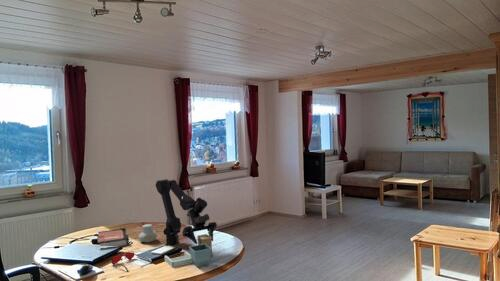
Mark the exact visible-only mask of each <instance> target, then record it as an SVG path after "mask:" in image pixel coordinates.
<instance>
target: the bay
mask: <svg viewBox="0 0 500 281" xmlns="http://www.w3.org/2000/svg"><path fill="white" fill-rule="evenodd" d="M183 253H184V255H182V256H177V257H171V258H170V257H169V256H168V255H164V262H166V264H168V265H169V266H170V267H171V268H176V267H179V266H184V265H188V264H192V263H193V264H194V262H193V261H192V258H191V255H190V252H188V251H184V252H183Z"/></svg>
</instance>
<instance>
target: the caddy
mask: <svg viewBox="0 0 500 281" xmlns="http://www.w3.org/2000/svg"><path fill="white" fill-rule="evenodd" d="M196 237H197V245H201V244H206V245H207V246H209V247H210V248H211V257H210V259H212V258H213V246H212V242H213V241H212V240H211V238H212V237H211V236H209V234H207V233H205V234H199V235H196Z"/></svg>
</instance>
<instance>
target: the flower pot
mask: <svg viewBox="0 0 500 281" xmlns="http://www.w3.org/2000/svg"><path fill="white" fill-rule="evenodd" d="M188 248H189V254H190V255H191V258H192V261H193V262H194V263H193V264H194V265H195V266H196V268H200V267H205V266H208V264H209V263H210V262H211V258H210V257H211V248H210V247H209V246H207V245H206V244H201V245H198V244H195V245H191V246H189V247H188Z"/></svg>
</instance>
